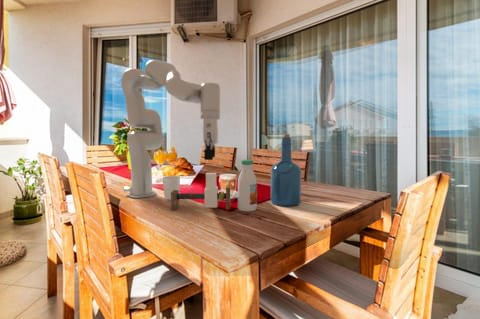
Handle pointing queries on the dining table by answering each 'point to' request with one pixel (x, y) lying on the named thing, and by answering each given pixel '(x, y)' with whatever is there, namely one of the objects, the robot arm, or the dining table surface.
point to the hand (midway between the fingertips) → (209, 158)
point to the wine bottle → (286, 178)
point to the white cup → (170, 185)
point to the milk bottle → (247, 187)
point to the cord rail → (198, 197)
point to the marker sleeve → (211, 191)
